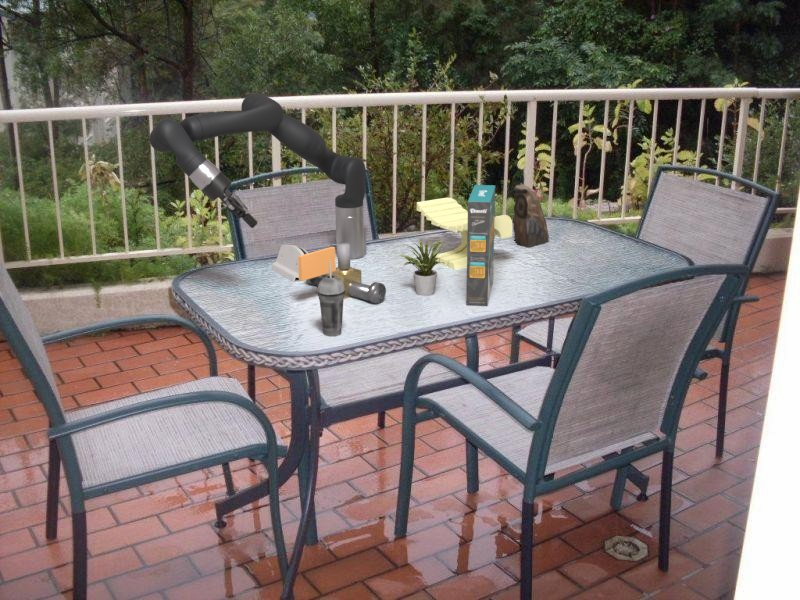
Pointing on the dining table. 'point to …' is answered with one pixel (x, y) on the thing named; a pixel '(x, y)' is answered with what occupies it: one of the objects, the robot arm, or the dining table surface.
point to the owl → (528, 218)
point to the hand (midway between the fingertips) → (255, 225)
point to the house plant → (424, 268)
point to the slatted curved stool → (457, 227)
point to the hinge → (288, 261)
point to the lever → (323, 261)
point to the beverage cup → (331, 303)
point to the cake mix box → (480, 245)
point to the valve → (355, 285)
